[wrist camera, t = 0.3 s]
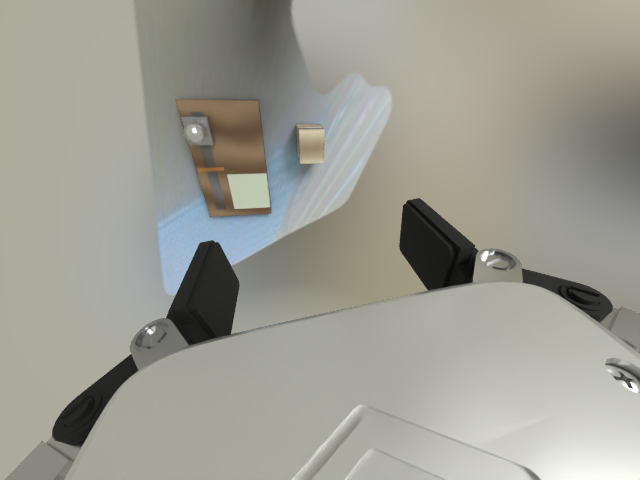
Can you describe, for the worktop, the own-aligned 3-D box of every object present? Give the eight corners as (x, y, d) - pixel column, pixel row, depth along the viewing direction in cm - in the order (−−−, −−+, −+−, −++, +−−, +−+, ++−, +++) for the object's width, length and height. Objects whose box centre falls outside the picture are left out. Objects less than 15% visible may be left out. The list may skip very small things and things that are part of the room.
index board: (178, 99, 35) (175, 100, 34) (258, 100, 37) (257, 101, 35) (212, 212, 47) (210, 216, 45) (271, 209, 48) (271, 213, 47)
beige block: (296, 123, 40) (298, 130, 35) (319, 123, 40) (325, 130, 35) (297, 153, 43) (299, 164, 38) (318, 153, 43) (324, 163, 38)
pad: (227, 174, 41) (226, 174, 41) (266, 173, 42) (266, 173, 42) (234, 208, 45) (234, 209, 45) (270, 206, 46) (270, 207, 46)
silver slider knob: (184, 115, 35) (174, 119, 31) (208, 115, 35) (201, 119, 32) (192, 143, 37) (183, 149, 34) (215, 142, 38) (209, 149, 34)
